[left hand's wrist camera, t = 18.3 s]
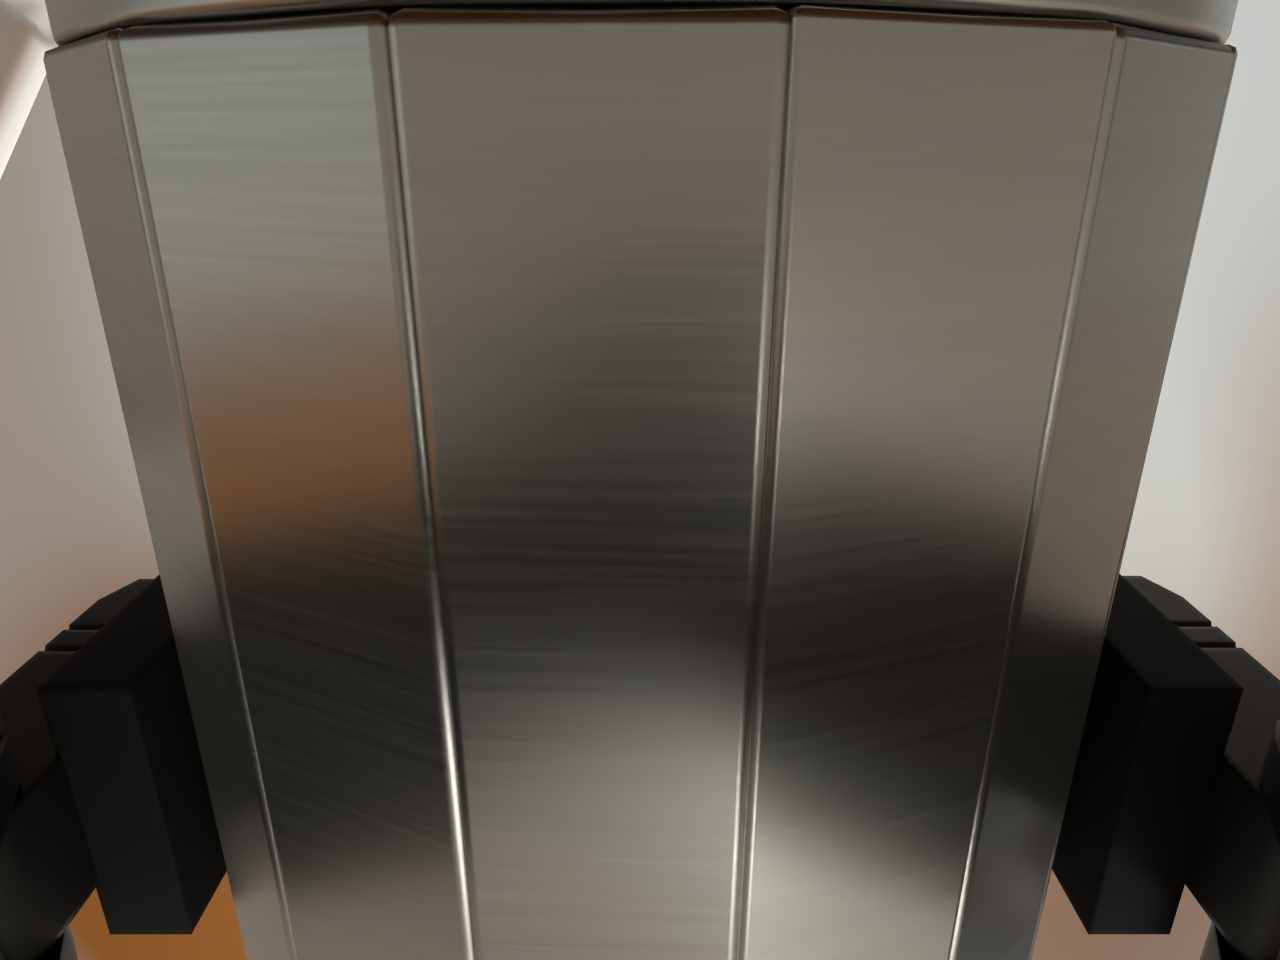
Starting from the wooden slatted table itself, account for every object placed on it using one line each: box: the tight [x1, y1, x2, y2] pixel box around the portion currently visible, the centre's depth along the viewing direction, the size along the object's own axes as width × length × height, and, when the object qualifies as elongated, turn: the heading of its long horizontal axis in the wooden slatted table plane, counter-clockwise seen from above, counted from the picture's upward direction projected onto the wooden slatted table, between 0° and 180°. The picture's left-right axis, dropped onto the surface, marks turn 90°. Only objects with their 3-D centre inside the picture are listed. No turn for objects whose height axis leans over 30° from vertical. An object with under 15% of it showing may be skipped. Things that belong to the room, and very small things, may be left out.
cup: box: [43, 0, 1238, 960], centre depth 9 cm, size 8×8×10 cm
